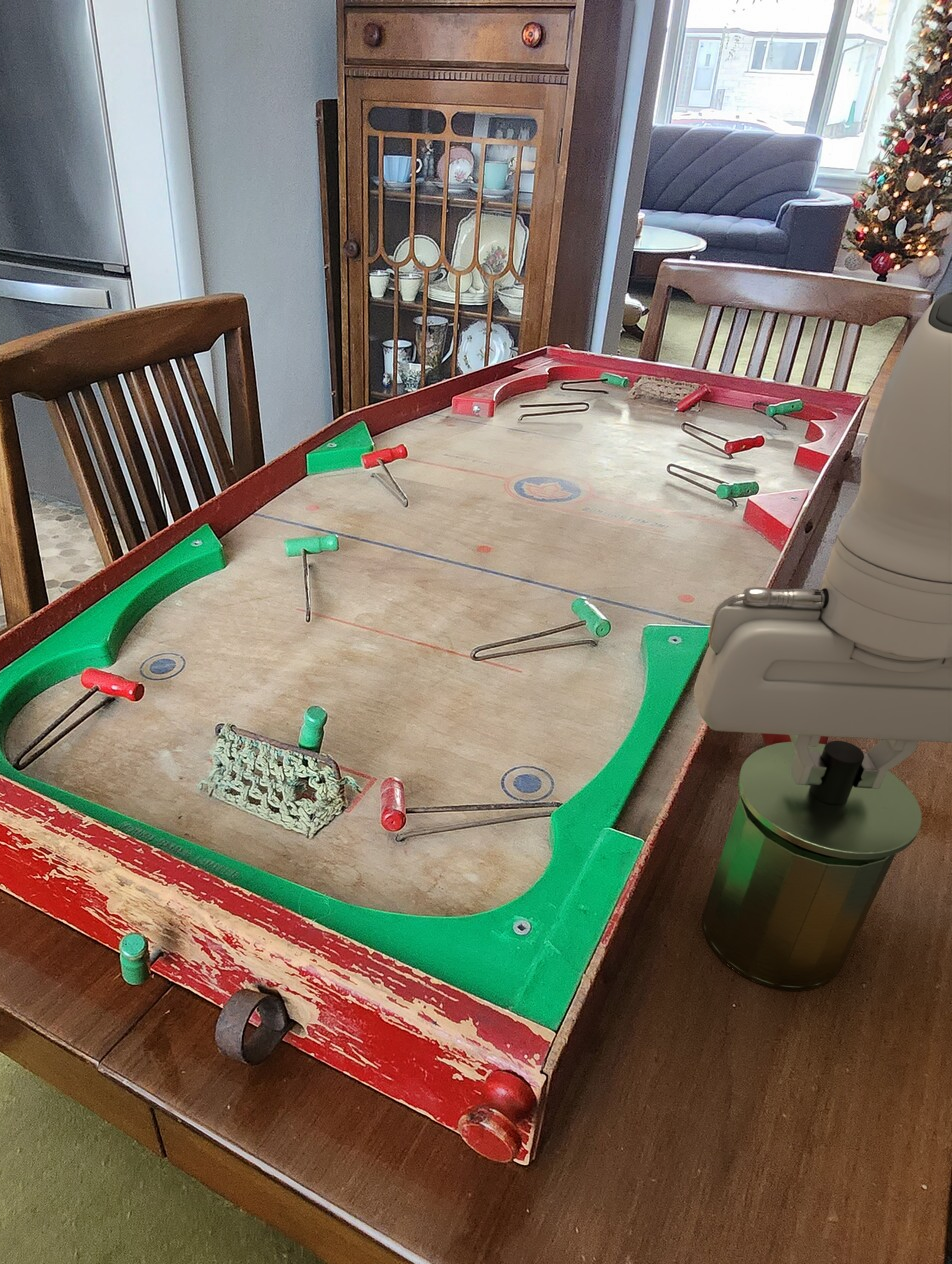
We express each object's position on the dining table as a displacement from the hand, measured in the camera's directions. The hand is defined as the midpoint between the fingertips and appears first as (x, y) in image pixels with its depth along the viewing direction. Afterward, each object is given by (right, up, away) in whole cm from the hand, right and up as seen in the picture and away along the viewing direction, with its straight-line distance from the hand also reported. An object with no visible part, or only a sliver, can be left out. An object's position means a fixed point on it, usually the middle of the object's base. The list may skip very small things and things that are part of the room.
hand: (833, 781), depth 60 cm
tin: (-1, -12, +9) cm, 15 cm away
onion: (+8, 0, +27) cm, 28 cm away
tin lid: (0, -1, +1) cm, 2 cm away
